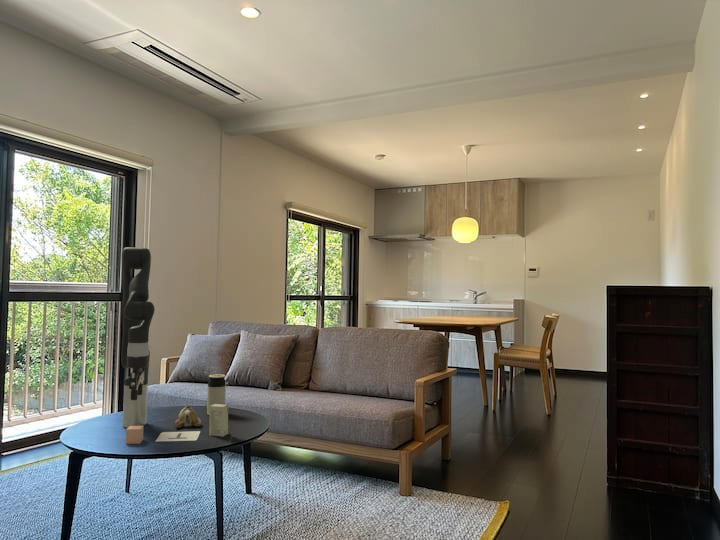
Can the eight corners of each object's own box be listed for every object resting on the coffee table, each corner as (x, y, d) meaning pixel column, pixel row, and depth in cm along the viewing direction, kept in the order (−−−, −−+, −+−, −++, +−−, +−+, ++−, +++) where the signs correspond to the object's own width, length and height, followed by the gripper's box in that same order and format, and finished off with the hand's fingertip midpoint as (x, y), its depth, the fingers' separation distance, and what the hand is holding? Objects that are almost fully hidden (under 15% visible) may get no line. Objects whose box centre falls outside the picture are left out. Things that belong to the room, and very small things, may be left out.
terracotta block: (129, 441, 200) (129, 425, 200) (142, 441, 201) (143, 425, 201) (125, 445, 195) (126, 429, 195) (139, 445, 196) (140, 429, 196)
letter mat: (161, 433, 212) (161, 432, 212) (200, 432, 214) (200, 431, 214) (155, 443, 199) (155, 441, 199) (196, 441, 202) (196, 440, 202)
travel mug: (218, 416, 241) (220, 377, 242) (203, 415, 243) (204, 376, 244) (227, 413, 249) (229, 374, 249) (213, 411, 251) (214, 373, 251)
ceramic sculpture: (200, 401, 233) (202, 410, 219) (199, 420, 233) (201, 431, 219) (174, 402, 229) (174, 412, 215) (174, 422, 229) (174, 433, 215)
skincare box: (228, 435, 212) (229, 404, 212) (223, 438, 207) (224, 406, 208) (213, 433, 213) (214, 403, 214) (208, 436, 209) (209, 405, 209)
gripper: (131, 351, 205) (130, 393, 205) (122, 357, 191) (121, 402, 191) (152, 351, 207) (150, 393, 206) (144, 357, 193) (143, 401, 192)
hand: (136, 397), depth 199 cm, fingers open, 8 cm apart
